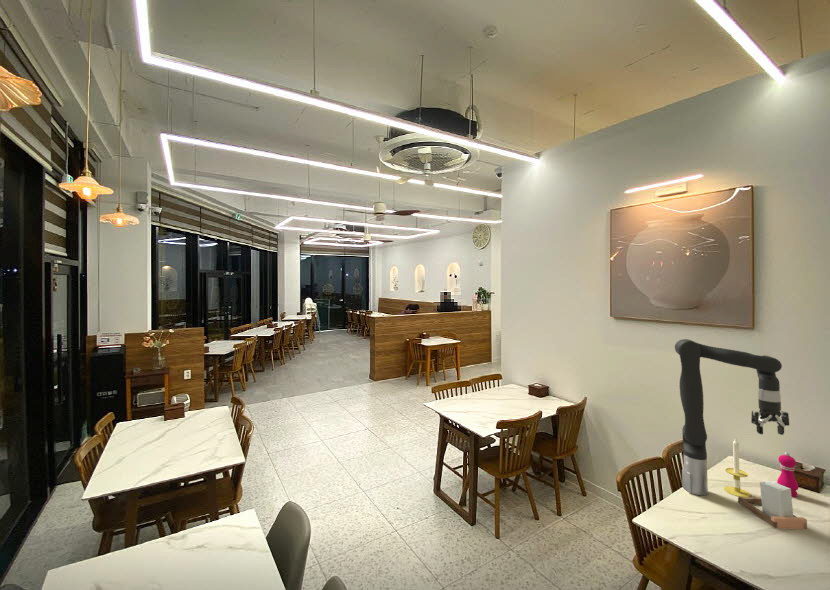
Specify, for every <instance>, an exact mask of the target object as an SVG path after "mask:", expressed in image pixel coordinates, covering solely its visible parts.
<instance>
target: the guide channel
mask: <svg viewBox="0 0 830 590" xmlns="http://www.w3.org/2000/svg"><path fill="white" fill-rule="evenodd" d="M737 503H738V504H740V505H741V506H742V507H744V508H746V509H747V510H748V511H750V512H751V513H752V514H754V515H755V516H756V517H758V518H760V519H761V520H763V522H765V523H767V524H768V525H769V526H770V527H772V528H773V529H779V528H778V525H777V522H776V523H774V522H773V521H772V520H771V517H769V516H768V515H766V514H765V513H763V512H762V510H760V509H759V508H758V507H756V506H755V505H760V506H762V500H761V497H738V496H737ZM793 517H797V516H796V515H795V514H793ZM806 524H807V526H806V527H807V528H808V522H807V523H805V525H806ZM775 525H776V526H775ZM774 526H775V527H776V528H775V527H774ZM803 530H806V529H805V528H804V529H803Z"/></svg>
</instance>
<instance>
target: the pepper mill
mask: <svg viewBox="0 0 830 590" xmlns="http://www.w3.org/2000/svg"><path fill="white" fill-rule="evenodd" d="M778 462H779V467H780V468H781V473H780V474H779V476H778V478H777V482H776V483H777V484H780V485H782V486H785V487H788V488H790V489H791V497H792V498H795V497H798V492H797V491H798V490H799V483H798V481H797V480H796V478H795V475H794V471H795V470H796V468H795V466H796V465H797V461H796V459H795V458H794V457H793V456H790V453H789V452H784V454H781V455H779V456H778Z"/></svg>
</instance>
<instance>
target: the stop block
mask: <svg viewBox="0 0 830 590" xmlns="http://www.w3.org/2000/svg"><path fill="white" fill-rule="evenodd" d="M771 520H772V521H773V522H774V523H776V522H777V525H778V528H776V527H775V526H776V525H775V526H774V527H775V528H774V527H773V528H774V529H789V530H790V529H791V530H807V529H808V519H807V518H805V517H803V516H802V517H799V516H798V517H797V516H796V517H777V516H771ZM805 523H807V524H806V525H805ZM806 526H807V527H806ZM804 528H805V529H804Z"/></svg>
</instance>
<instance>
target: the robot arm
mask: <svg viewBox="0 0 830 590" xmlns="http://www.w3.org/2000/svg"><path fill="white" fill-rule="evenodd" d="M674 350H675V353H677V354H678V355H679V359H680V365H681V372H680V378H679V396H680V401H681V406H682V408H683V409H682V410H683V413H684V424H683V426H682V431H681V432H682V449H683V468H682V469H681V479H682V480H681V481H682V482H681V483H682V488H683V489H684V490H685V491H686V492H688V493H689V494H693V495H697V496H707V495H708V494H709V487H708V486H709V485H708V480H709V479H708V453H707V447H706V446H707V444H706V442H707V440H708V434H707V430H706V425H705V420H704V390H703V389H704V387H703V381H702V374H701V367H700V366H701V358H703V359H709V360H713V361H716V362H717V361H718V362H721V363H723V364H729V365H733V366H738V367H743V368H751V369H754V370H756V373H757V377H758V391H757V395H758V409H759V411H756V410H751V421H750V422H751V424H753V425H756V426H755V427H756V432H757V434H759V435H764V427H763V426H764V425H765V424H767V423H768V422H774V423H776V424H777V426H776V427H777V434H779V435H781V436H784V434H785V427H786V426H790V416H789V413H788V412H787V411H783V410H782V401H781V400H782V397H781V396H782V395H781V390H780V388H781V387H780V380H779V378H778V377H777V374H776V373H778V372H779V371H780V370H781V369H782V367H783V365H782V363H781V361H780V360H779V359H777V358H776V357H772V356H769V355H758V354H752V353H749V352H746V351H740V350H736V349H730V348H729V349H728V348H722V347H717V346H716V347H715V346H709V345H705V344H702V343H699V342H696V341H693V340H691V339H686V338H684V339H679V340H678V341H676V343H675V344H674ZM780 417H781V418H780Z"/></svg>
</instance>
